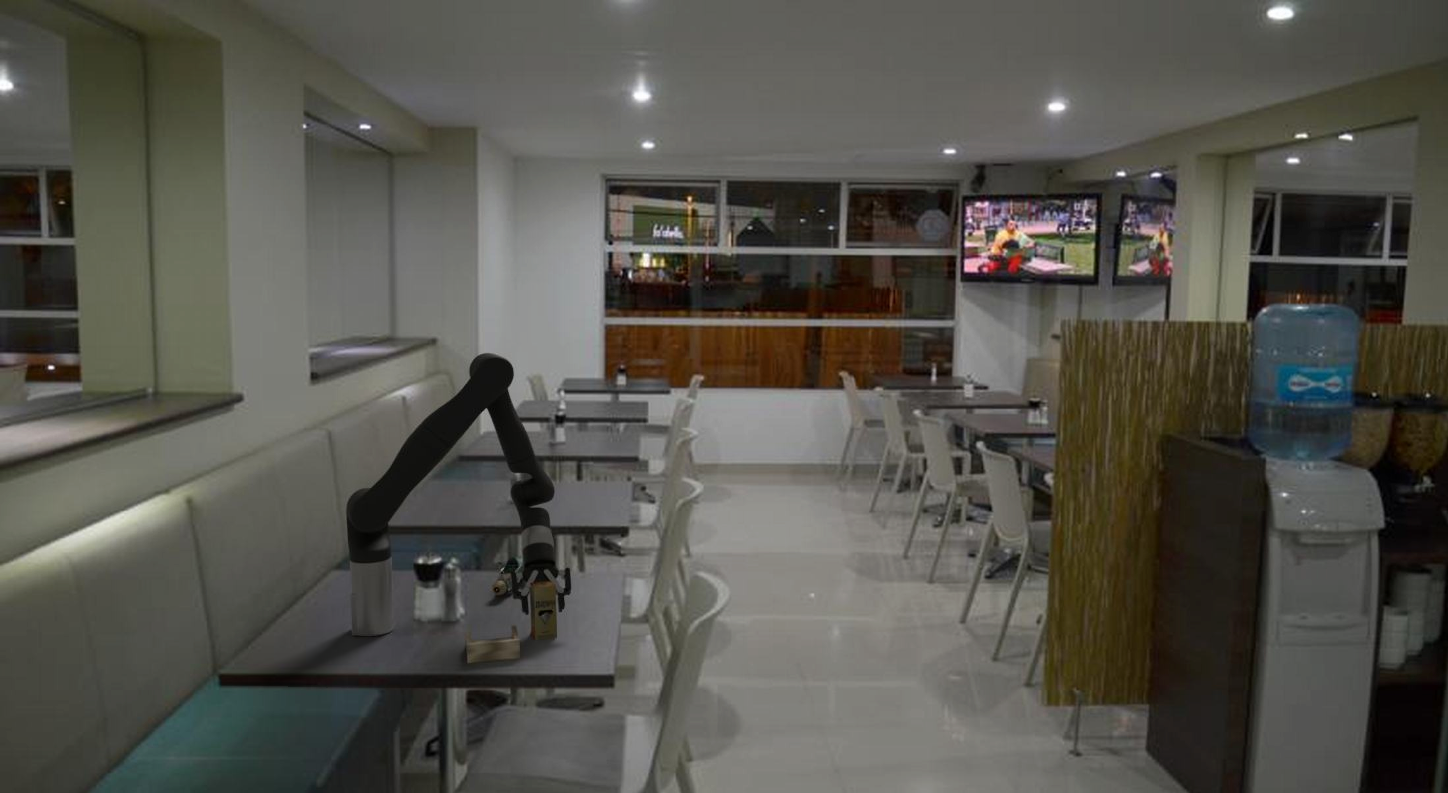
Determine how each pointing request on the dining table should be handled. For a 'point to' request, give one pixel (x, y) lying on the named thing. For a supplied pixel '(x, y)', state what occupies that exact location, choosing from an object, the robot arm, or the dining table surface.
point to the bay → (493, 648)
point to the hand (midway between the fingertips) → (544, 611)
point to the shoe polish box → (543, 610)
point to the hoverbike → (507, 575)
